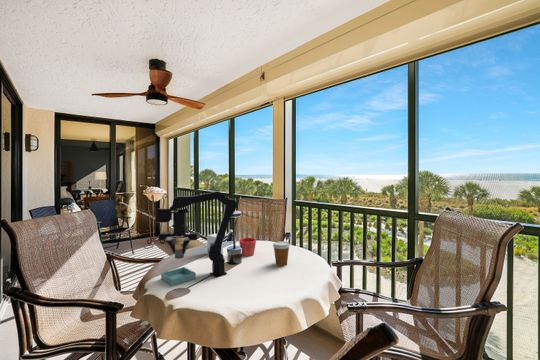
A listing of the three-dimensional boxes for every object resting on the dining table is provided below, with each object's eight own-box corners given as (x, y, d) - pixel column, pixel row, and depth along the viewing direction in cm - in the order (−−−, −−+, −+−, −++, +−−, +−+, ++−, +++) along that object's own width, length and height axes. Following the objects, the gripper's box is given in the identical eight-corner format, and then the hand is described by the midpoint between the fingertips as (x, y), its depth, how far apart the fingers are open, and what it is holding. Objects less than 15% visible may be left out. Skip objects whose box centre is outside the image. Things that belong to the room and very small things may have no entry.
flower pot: (255, 257, 154) (255, 241, 154) (238, 257, 154) (238, 241, 155) (256, 252, 165) (256, 237, 165) (240, 252, 165) (240, 237, 165)
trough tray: (195, 278, 121) (195, 272, 121) (172, 286, 113) (172, 279, 113) (184, 272, 129) (184, 266, 129) (161, 279, 121) (161, 273, 121)
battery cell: (185, 257, 122) (185, 242, 122) (177, 259, 119) (177, 244, 119) (181, 255, 125) (181, 241, 125) (173, 257, 122) (173, 242, 122)
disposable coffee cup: (270, 266, 138) (270, 244, 138) (276, 260, 147) (276, 240, 147) (286, 268, 135) (286, 246, 135) (292, 262, 144) (291, 242, 144)
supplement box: (214, 257, 156) (214, 236, 156) (206, 254, 160) (206, 235, 160) (223, 254, 161) (223, 234, 161) (215, 252, 166) (215, 233, 166)
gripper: (202, 219, 130) (202, 249, 130) (167, 219, 130) (167, 249, 130) (196, 222, 119) (196, 255, 119) (157, 222, 119) (157, 255, 119)
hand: (179, 253), depth 122 cm, fingers closed on battery cell, 4 cm apart
